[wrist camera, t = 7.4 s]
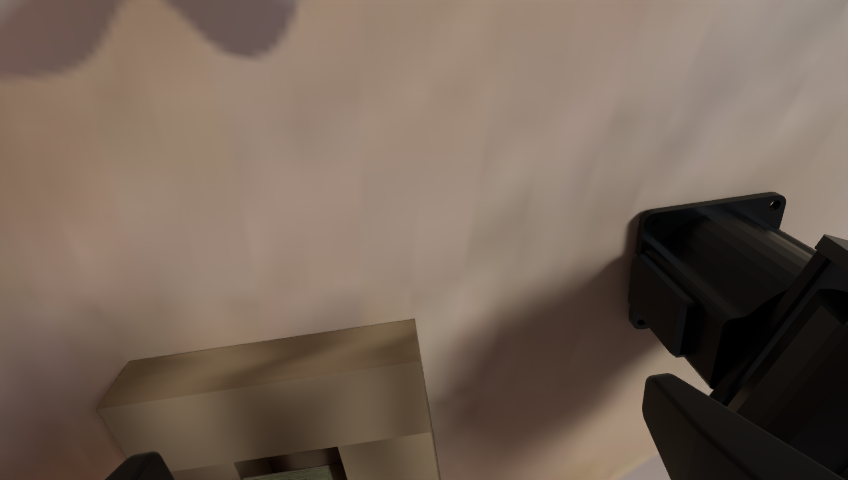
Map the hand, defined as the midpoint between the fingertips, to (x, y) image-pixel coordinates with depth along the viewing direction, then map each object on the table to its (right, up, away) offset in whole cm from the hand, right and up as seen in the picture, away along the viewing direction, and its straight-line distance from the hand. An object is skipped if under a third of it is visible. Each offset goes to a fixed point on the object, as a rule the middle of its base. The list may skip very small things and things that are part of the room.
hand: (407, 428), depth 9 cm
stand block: (-6, -8, +17) cm, 20 cm away
